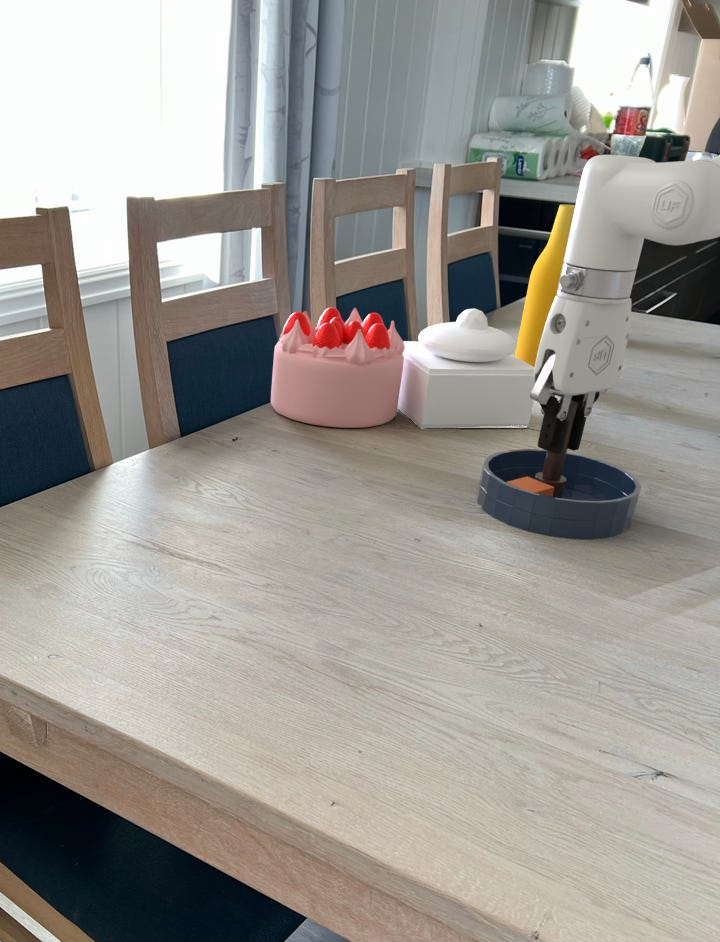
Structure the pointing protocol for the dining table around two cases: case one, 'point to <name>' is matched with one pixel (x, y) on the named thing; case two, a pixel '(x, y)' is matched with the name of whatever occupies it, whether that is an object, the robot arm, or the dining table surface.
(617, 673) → the dining table surface
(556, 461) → the pestle
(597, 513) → the bowl
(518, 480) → the block
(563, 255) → the beer bottle
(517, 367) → the butter dish
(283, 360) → the cake
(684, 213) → the robot arm
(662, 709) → the dining table surface
